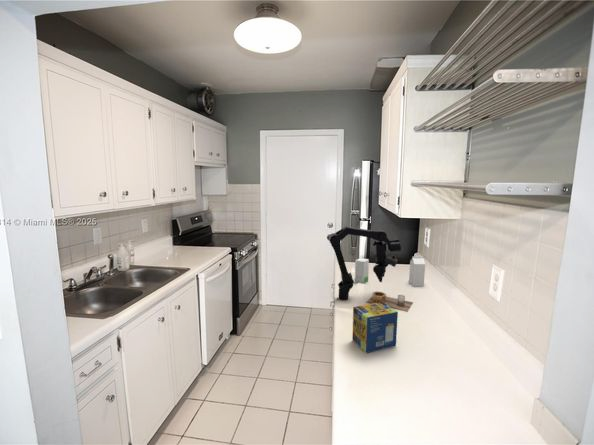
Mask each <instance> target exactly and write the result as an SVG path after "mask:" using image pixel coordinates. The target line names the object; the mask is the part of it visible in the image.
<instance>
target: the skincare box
mask: <svg viewBox="0 0 594 445" xmlns="http://www.w3.org/2000/svg"><path fill="white" fill-rule="evenodd" d="M369 263H370V260H369V258H357V259H355V264H354V265H355V268H354V269H355V270H354V272H355V273H354V275H355V276H354V283H355V284H363V285H365V284H367V283H369V266H370V265H369Z"/></svg>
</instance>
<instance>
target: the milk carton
mask: <svg viewBox="0 0 594 445" xmlns="http://www.w3.org/2000/svg"><path fill="white" fill-rule="evenodd" d="M425 271H426V262H425V258H424V256H412V257H411V259H410V261H409V273H408V274H409V278H408V282H409V284H410V285H411V286H412V287H425V277H426V276H425V273H426V272H425Z"/></svg>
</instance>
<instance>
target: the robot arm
mask: <svg viewBox="0 0 594 445" xmlns="http://www.w3.org/2000/svg"><path fill="white" fill-rule="evenodd" d="M348 235H351V236H358V237H365V238H369V239H372V240H373V242H371V245H372V246H375V255H374V256H375V265H374V266H373V267H372V270H373V273H374V274H375V276H376V278H377V280H378V281H379V283H382V282H383V278H384V277H385V274H386V270H387V267H388V266H389V265H390V266H392V267H394V268H395V267H396V266H397V262H398V258H397V257H396V255H394V254H392V255H391V256H389V255H388V253H387V251H388V252H389V253H395V252H401V250H402V246H401V243H400V239H399V238H396V239H389V238H388V235H387V233H386V232H385V231H384V230H383V229H379V228H378V229H363V228H358V227H351V226H349V225H346V226H344V227H343V228H341V229H340V230H338V231H336V232H333V233H330V234H329V237H328V240H329V243H330V245H331V248H332V249H333V250H334V253H335V256H336V260H337V263H338V267H339V270H340V274H341V275H340V278H341V281H339V283H338V284H337V286H338V297H337V299H336V301H337V300H340V301H347V300H349V295H350V294H349V293H350V290H351V289H352V288H353V287H354V283H355V280H354V279H353V274H352V273H351V272H348V269H347V266H346V262H345V259H344V256H343V252H342V246H341V244H342V243H341V241H343V240H344V239H345V238H346V237H347V236H348Z"/></svg>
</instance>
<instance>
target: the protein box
mask: <svg viewBox="0 0 594 445" xmlns="http://www.w3.org/2000/svg"><path fill="white" fill-rule="evenodd" d="M398 313H399V312H398V310H396V309H393V308H391V307H390V306H388V305H386V304H385V303H383V302H379V303H373V304H371V303H367V304H363V305H358V306H353V309H352V340H351V341H353V342H354V344H356V345H357V346H358V348H360V349H361V351H363V352H364V353H365V354H366V353H367V354H369V353H370V352H371V353H372V352H376V351H380V350H385V349H388V348H393V347H397V346H396V345H397V332H398V317H399V316H398V315H399V314H398Z"/></svg>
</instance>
